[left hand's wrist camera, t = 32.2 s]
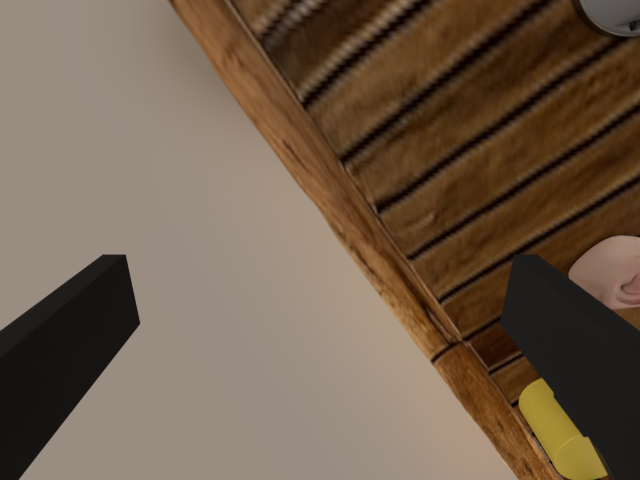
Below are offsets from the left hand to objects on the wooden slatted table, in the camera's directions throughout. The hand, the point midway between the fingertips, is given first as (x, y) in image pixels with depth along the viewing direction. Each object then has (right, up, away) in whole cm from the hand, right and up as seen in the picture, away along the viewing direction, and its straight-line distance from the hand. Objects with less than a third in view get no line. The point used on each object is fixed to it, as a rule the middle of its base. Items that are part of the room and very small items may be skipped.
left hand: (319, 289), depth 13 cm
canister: (+35, -23, +44) cm, 60 cm away
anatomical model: (+43, -3, +41) cm, 60 cm away
